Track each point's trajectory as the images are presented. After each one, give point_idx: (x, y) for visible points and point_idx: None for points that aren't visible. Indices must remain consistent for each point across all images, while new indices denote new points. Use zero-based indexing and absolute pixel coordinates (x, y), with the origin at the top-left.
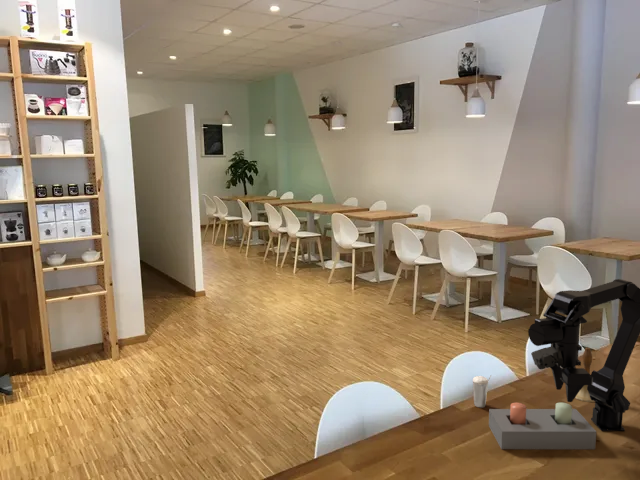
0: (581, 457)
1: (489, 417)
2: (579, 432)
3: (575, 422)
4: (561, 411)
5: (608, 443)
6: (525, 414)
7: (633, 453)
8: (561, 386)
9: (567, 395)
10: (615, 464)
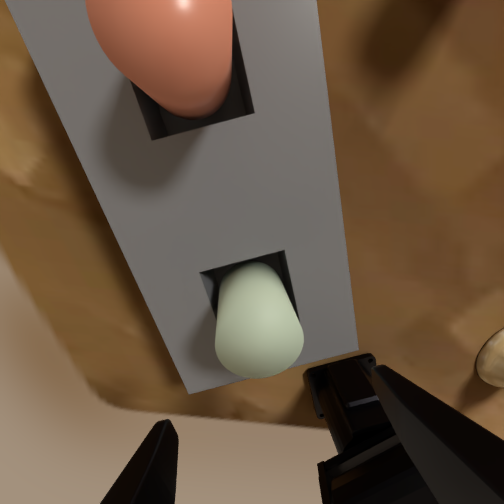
0: (134, 306)
1: None
2: (167, 343)
3: None
4: (219, 320)
5: None
6: (153, 97)
7: (208, 416)
8: (388, 417)
9: (109, 495)
10: (133, 378)
